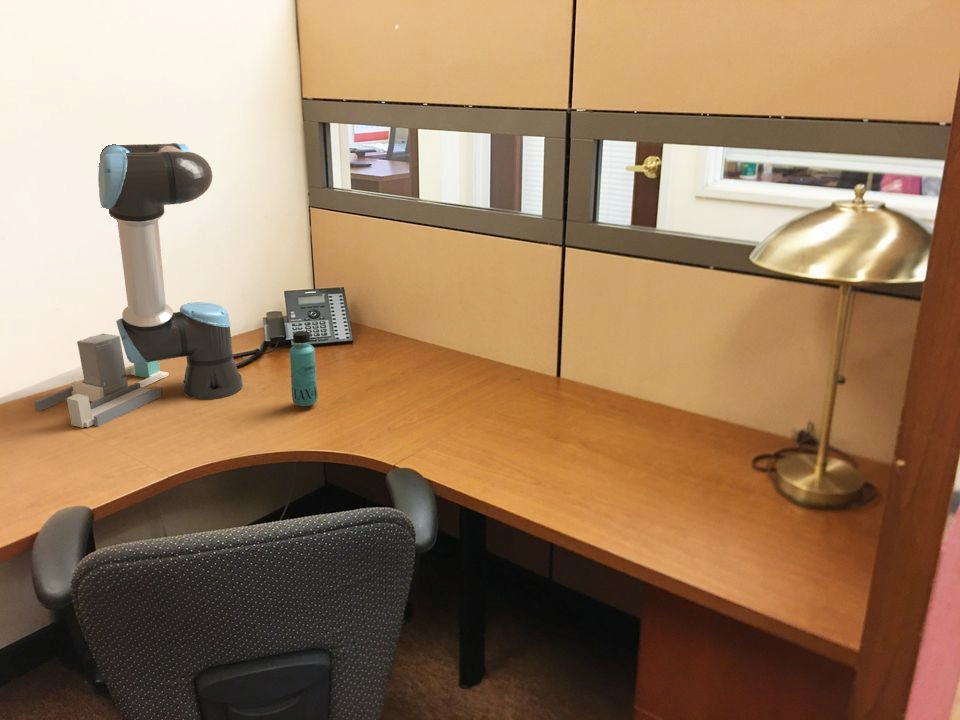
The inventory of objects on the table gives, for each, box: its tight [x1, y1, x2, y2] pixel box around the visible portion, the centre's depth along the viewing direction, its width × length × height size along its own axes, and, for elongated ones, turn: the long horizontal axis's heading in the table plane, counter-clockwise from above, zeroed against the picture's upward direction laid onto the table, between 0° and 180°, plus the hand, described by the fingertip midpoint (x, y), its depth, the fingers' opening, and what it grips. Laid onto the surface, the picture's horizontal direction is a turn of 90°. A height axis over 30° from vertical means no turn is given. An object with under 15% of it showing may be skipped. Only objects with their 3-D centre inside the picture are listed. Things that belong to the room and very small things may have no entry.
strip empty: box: [66, 387, 152, 429], centre depth 189 cm, size 5×22×7 cm, turn 157°
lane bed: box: [34, 380, 162, 427], centre depth 193 cm, size 21×20×2 cm
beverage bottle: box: [289, 330, 319, 407], centre depth 191 cm, size 6×7×20 cm
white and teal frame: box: [71, 360, 170, 403], centre depth 202 cm, size 11×22×11 cm, turn 157°
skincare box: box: [76, 333, 129, 397], centre depth 196 cm, size 8×7×16 cm
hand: (128, 266), depth 219 cm, fingers open, 13 cm apart
